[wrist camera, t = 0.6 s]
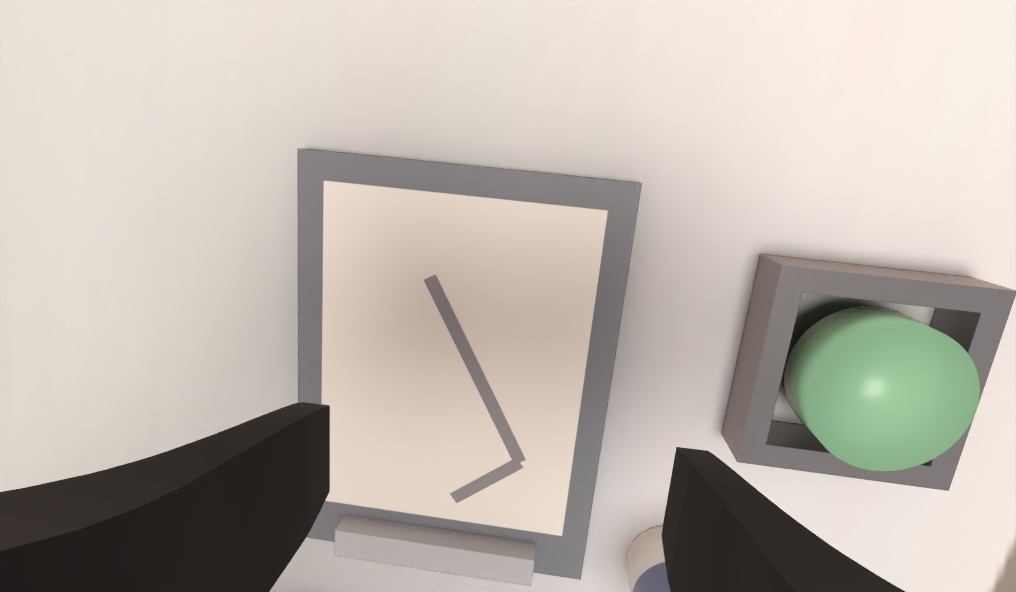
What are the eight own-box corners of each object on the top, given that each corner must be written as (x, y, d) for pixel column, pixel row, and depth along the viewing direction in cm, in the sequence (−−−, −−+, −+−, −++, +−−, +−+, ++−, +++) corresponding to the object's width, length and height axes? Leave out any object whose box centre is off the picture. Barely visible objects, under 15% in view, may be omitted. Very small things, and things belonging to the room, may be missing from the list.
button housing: (913, 459, 21) (948, 490, 19) (721, 434, 21) (737, 461, 19) (971, 276, 19) (1016, 290, 17) (760, 253, 19) (781, 265, 17)
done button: (913, 448, 19) (952, 481, 17) (770, 429, 19) (792, 459, 18) (955, 315, 18) (1001, 334, 16) (801, 298, 18) (830, 315, 16)
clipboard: (580, 568, 23) (581, 598, 22) (304, 526, 24) (287, 552, 23) (639, 182, 19) (645, 185, 18) (305, 148, 20) (283, 148, 19)
